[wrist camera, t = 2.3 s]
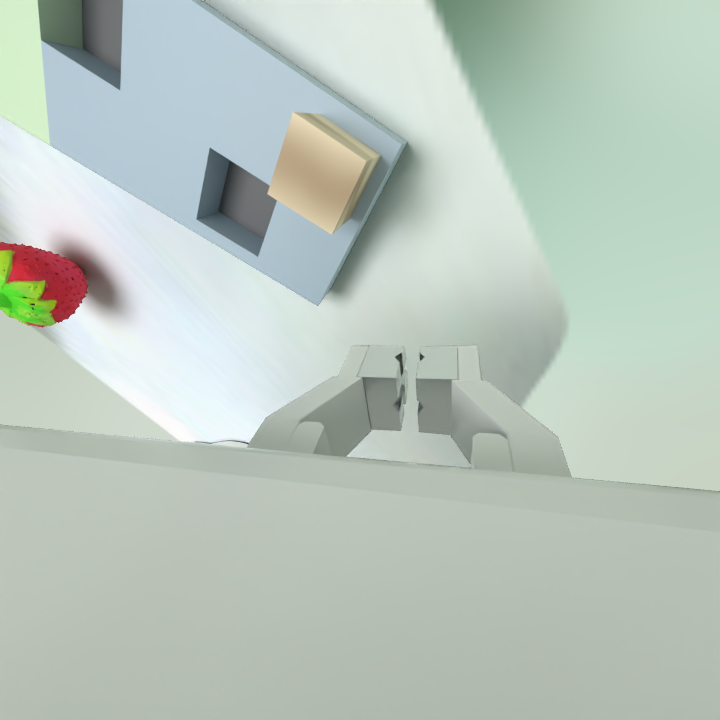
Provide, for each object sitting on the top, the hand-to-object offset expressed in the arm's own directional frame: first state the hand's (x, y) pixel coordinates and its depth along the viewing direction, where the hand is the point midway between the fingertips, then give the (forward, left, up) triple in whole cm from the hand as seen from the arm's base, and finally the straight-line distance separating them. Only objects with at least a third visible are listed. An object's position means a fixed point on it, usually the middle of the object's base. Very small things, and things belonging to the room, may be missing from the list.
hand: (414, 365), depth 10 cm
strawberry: (-21, +27, -17) cm, 38 cm away
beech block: (0, +7, -14) cm, 16 cm away
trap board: (-3, +19, -17) cm, 26 cm away
